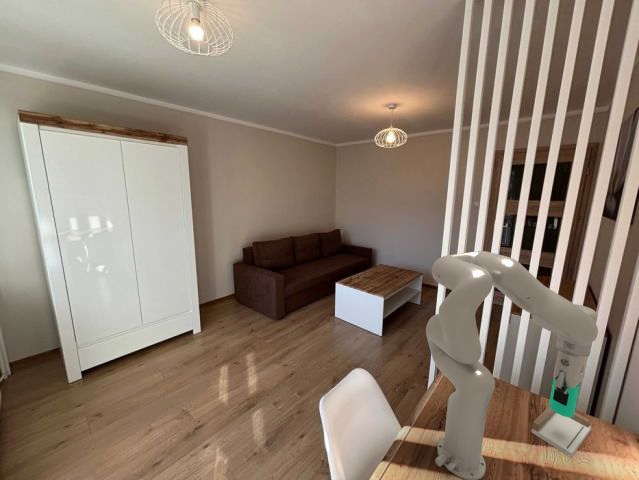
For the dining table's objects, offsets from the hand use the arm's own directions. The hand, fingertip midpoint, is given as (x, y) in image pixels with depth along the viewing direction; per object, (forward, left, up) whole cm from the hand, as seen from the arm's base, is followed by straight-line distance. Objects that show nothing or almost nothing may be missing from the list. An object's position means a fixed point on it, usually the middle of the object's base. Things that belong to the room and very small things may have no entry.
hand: (563, 398), depth 83 cm
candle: (0, 0, -4) cm, 4 cm away
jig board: (+5, 0, -15) cm, 15 cm away
